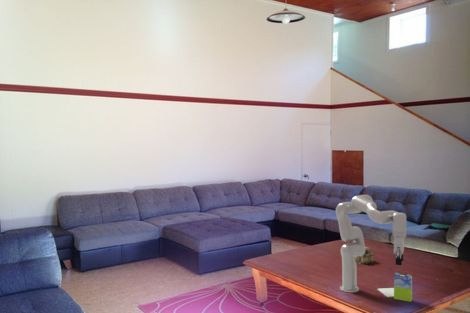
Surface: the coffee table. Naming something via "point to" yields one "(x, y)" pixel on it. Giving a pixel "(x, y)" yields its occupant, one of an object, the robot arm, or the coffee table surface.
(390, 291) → the mat
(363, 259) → the miniature house
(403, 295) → the box
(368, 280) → the coffee table surface
